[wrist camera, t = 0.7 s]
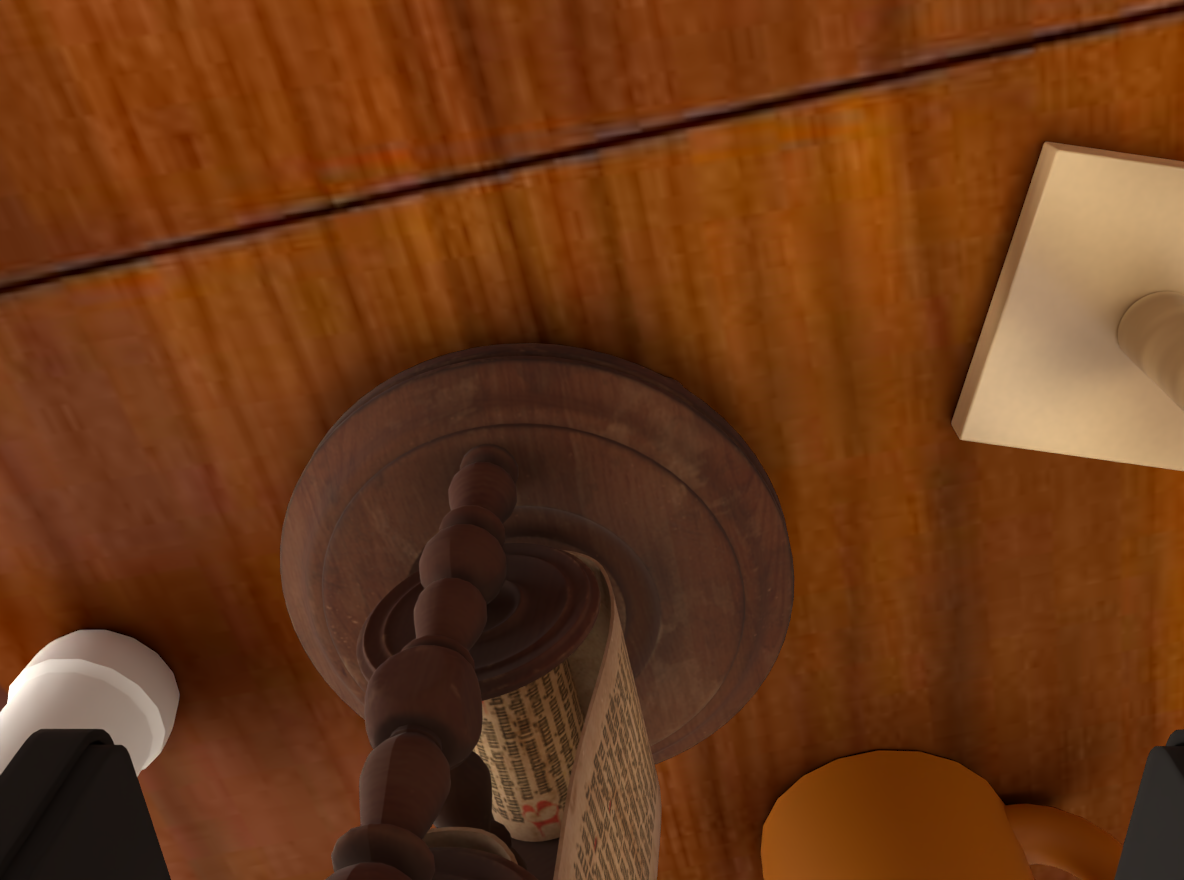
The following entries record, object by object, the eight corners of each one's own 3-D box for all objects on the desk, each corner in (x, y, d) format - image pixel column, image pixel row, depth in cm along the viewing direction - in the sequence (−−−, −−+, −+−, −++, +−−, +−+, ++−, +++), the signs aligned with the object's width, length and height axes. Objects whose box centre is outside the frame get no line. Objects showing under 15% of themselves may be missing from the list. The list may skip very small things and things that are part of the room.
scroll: (810, 697, 35) (979, 1539, 17) (385, 751, 37) (140, 1555, 19) (748, 278, 28) (922, 941, 10) (235, 371, 30) (-354, 1060, 12)
